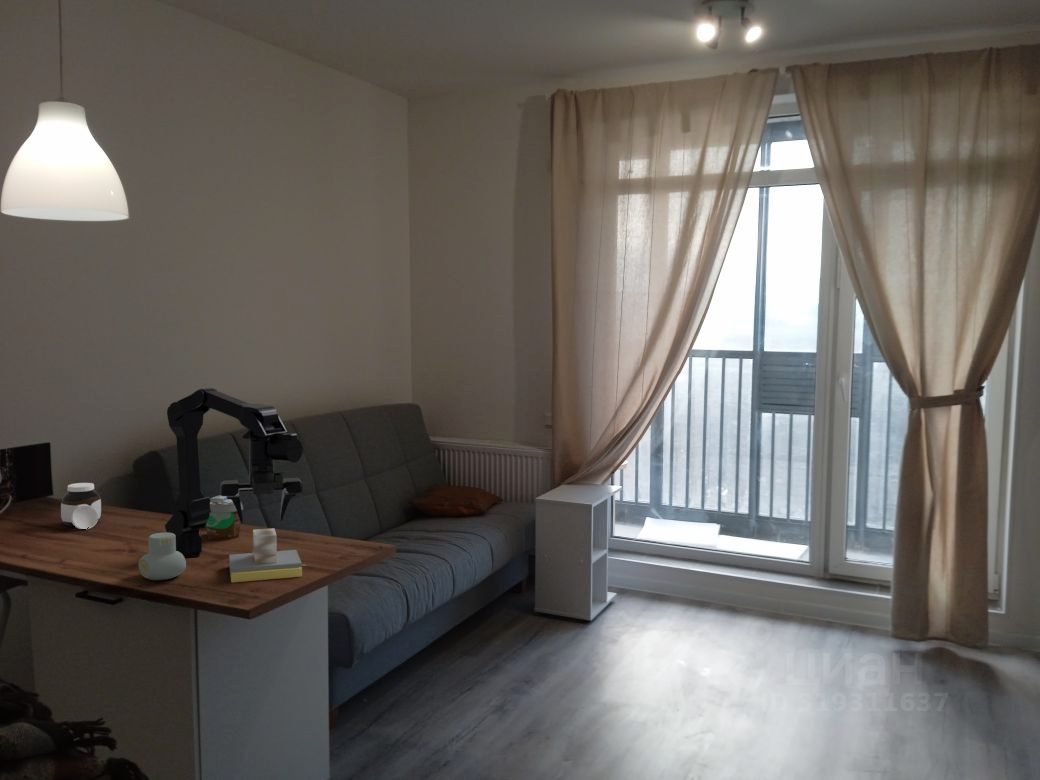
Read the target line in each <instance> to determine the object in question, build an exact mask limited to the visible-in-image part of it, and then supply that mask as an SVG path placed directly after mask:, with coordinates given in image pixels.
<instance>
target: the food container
mask: <svg viewBox="0 0 1040 780" xmlns="http://www.w3.org/2000/svg"><path fill="white" fill-rule="evenodd" d="M240 502H241V509H242V511H243V510H244V505H243V503H242V501H240ZM210 509H211V513H210V515H209V519H208V520H207V523H206V527H205V528H206V535H207V538H208V539H210V540H214V541H216V540H217V541H225V540H233V539H238V538H240V532H241V531H240V530H241V522H240V519H239V516H238V513H237V510H236V507H235V505H234V504H230V503H227V502H211V501H210Z"/></svg>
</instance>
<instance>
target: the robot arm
mask: <svg viewBox="0 0 1040 780" xmlns="http://www.w3.org/2000/svg"><path fill="white" fill-rule="evenodd" d="M166 409H167V411H166V414H167V415H166V416H167V420H168V426H169V428H170V429H171V431H172V432H173V434H174V435H175V436H176V438H175V439H176V449H177V450H176V454H177V468H178V486H179V493H178V495H177V498H176V500H175V502H174V504H173V514H172V516H171V518H169V520H168V521H167V522H166V523H165V524H164V529H165V533H173V534H175V536H176V551H178V552H180V553H181V554H182V555H183V556H184V558H192V557H193V558H194V557H200V555H201V553H202V551H203V547H202V545H203V543H202V542H203V540H202V539H203V537H202V534H201V533H200V530H202V529H206V528H207V527H206V523H207V520H208V519H209V515H210V513H211V509H210V497H209V496H207V497H205V494H203V492H202V489H201V477H200V476H201V475H200V473H201V472H200V458H199V441H198V437H199V436H198V434H199V433H200V431H201V429H202V427H203V425H204V416H205V414H207V413H208V412H209V411H211V409H212V410H215V411H217V412H219V413H222V414H225V415H226V416H230V417H232V418H234V419H236V420H238V421H239V423H240V425H241V426H242V427H244V428H246V429H247V432H245V433H244V434H243V435H242V439H243V440H249V454H248V455H249V458H248V459H249V460H248V461H249V468H248V469H249V472H248V473H249V474H248V475H249V476H248V477H249V479H248V480H249V481H248V482H249V483H248V482H247V483H246V482H245V483H239V481H238V479H233V480H232V479H231V480H229V479H228V480H225V479H224V480H222V481H221V482H220V495H221V496H227V499H231V500H232V501H233V503H234V505H235V507H236V510H237V513H238V516H239V519H240V524H243V522H244V521H243V519H244V518H243V517H244V516H243V510H242V509H241V502H242V501H241V497H240V492H252V494H253V495H255V496H259V495H266V494H267V495H273V494H274V493H275V491H279V490H281V491H282V492H281V502H280V511H279V520H280V522H282V521H283V519H284V517H285V514H286V511H287V508H288V506H289V503H290V501H291V500H292V498H293V497H297V495H298V494H302V493H303V482H302V481H301V479H300V478H299V477H287V478H286V477H285V478H283V477H284V476H283V475H284V474H283V472H275V461H278V462H279V461H280V462H287V463H294V464H295V463H297V462H298V461H300V459H301V458H302V457H303V456H302V455H303V452H304V447H303V445H302V444H303V443H302V442H301V440H300V439H298V434H297V433H293V432H292V433H288V430H287V428H286V426H285V424H284V423H283V421H282V419H281V418H280V415H279V413H278V409H277V408H276V407H274V406H272V405H266V404H259V403H257V404H256V403H249V402H246V401H244V400H241V399H238V398H237V397H234V396H231V395H229V394H226V393H224V392H221V391H218V390H217V389H216V388H212V387H208V388H207V387H206V388H199V389H197V390H195V391H194V392H193V393H192V394H189V395H188V396H185V397H183V398H181V399H179V400H177V401H174V402H172V403H170V404H169V406H168V407H167V408H166Z"/></svg>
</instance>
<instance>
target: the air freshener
mask: <svg viewBox="0 0 1040 780" xmlns="http://www.w3.org/2000/svg"><path fill="white" fill-rule="evenodd" d="M147 542H148V547H147V548H148V552H147V553H145V554H144V555H142V556H141V557H140V558H139V560H138V570H139V572H140V574H141V575H142V577H144V578H145V579H148V580H149V581H163V580H164V581H167V580H170V579H173V578H175V577H178V576H180V575H181V574H182V573H183V572H184V571H185V570H186V568H187V561H186V557H184V556H183V555H182V554H181V553H180V552H178V551H176V536H175V534H173V533H167V532H156V533H152V534H150V535H149V536H148V541H147Z"/></svg>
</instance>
